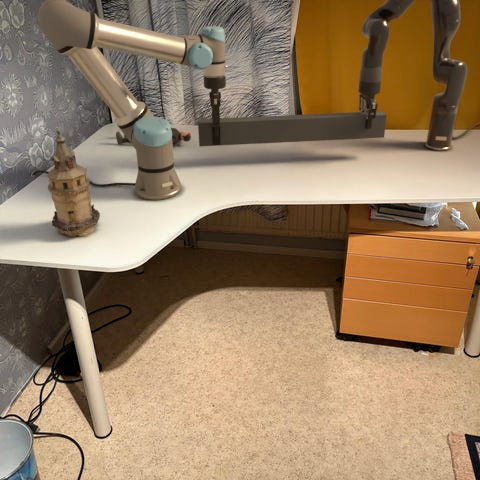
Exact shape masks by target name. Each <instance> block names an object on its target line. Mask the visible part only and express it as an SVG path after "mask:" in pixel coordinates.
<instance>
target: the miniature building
mask: <svg viewBox="0 0 480 480" xmlns="http://www.w3.org/2000/svg"><path fill="white" fill-rule="evenodd" d="M56 134H57V136H56V138H55V140H54V141H55V142H56V147H55V154H54V156H52V157H51V161H52V162H53V165H54V167H53V168H51V169H50V170H49V171H48V172H49V173H48V174H46V178H47V179H48V182H49V184H48V186H47V190H48V191H49V193H50V194H51V200H52V201H53V205H54V209H55V211H53V217H52V220H51V223H52V225H51V227H54V228H56V229H58V230H59V231H60V234H63V235H64V234H65V235H66V236H69V237H77V236H80V237H83V236H87V235H88V234H90V233H93V232H94V231H95V229H96V226H97V225H98V223H99V220H100V216H101V213H100V212H99V210H98V209H96V208H95V204H92V201H91V200H92V199H91V198H92V197H91V192H92V191H91V188H90V185H91V184H90V181H91V178H89V177H88V174H87V167H85V166H84V165H83V166H82V165H80V164H77V160H76V154H75V151H74V150H70V149H69V147H68V145H67V143H66V138H65V137H64V136H63V135H61V130H60V129H56Z"/></svg>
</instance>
